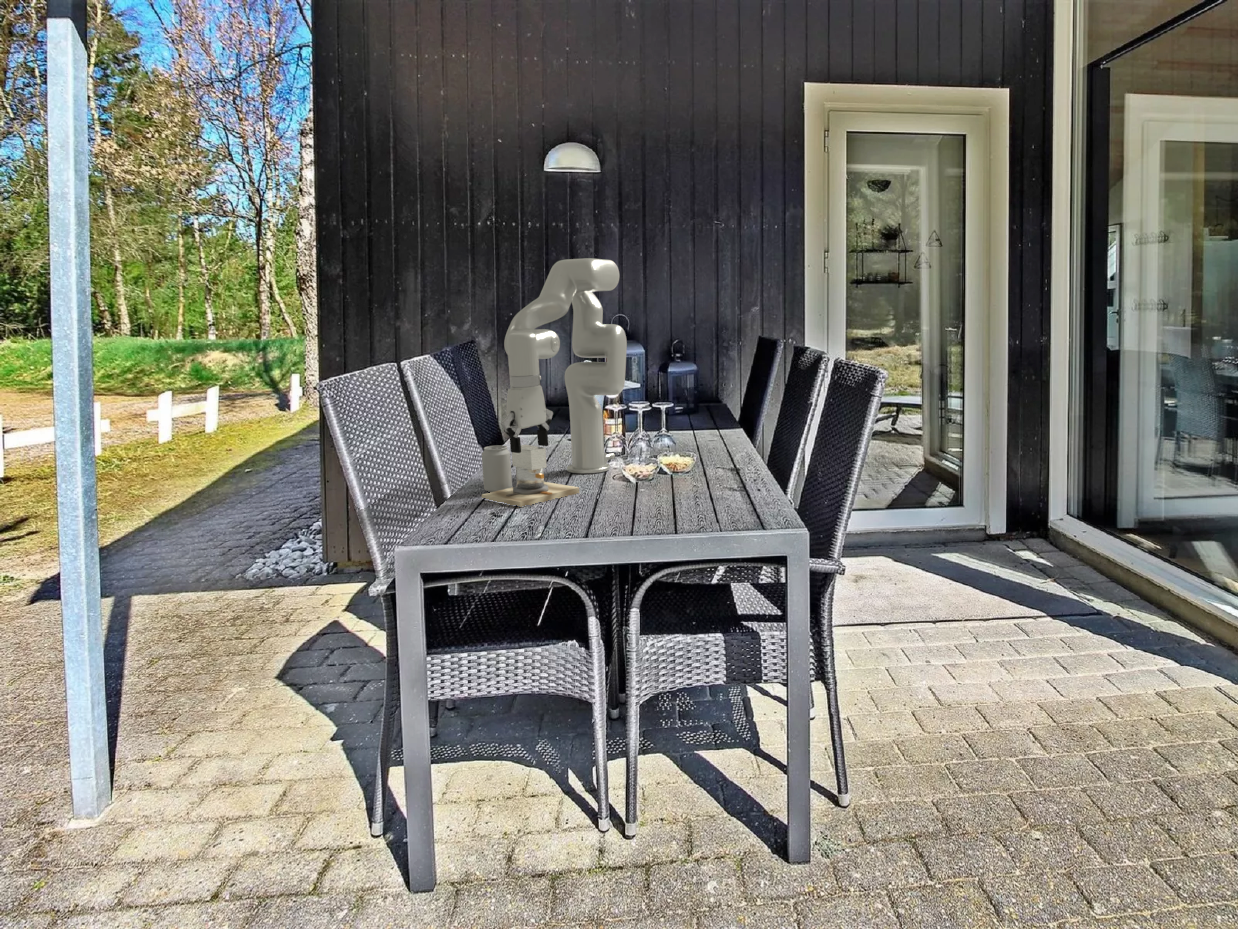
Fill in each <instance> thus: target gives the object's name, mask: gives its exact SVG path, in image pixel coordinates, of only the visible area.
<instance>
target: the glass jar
mask: <svg viewBox="0 0 1238 929" xmlns="http://www.w3.org/2000/svg"><path fill="white" fill-rule="evenodd" d="M546 450H547V448H546V447H542V446H541V447H540V446H536V445H531V444H530V445H529V444H521V453H514V452H511V462H512V463H511V464H512V467H515V476H516V477H515V478H516V486H517V488H521V489H533V488H540V487H543V486H544V482H545V474H544V469H546V468H547V451H546Z"/></svg>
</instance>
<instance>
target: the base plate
mask: <svg viewBox="0 0 1238 929" xmlns="http://www.w3.org/2000/svg"><path fill="white" fill-rule="evenodd" d="M577 493H578V494H580V487H578V486H573V485H566V484H562V483H561V484H560V483H555V482H547V481H544V486H543V487H540V488H533V489H521V488H517V485H516V486H512V488H508V489H503V490H499V491H495V492H490V493H488V492H486V493H482V494H481V499H482V498H486V499H489V500H493V501H497V502H504V503H507V504H510V505H517V506H520V507H522V506H525V505H530V506H533V505H532V504H534V505H536V504H535V503H538V502H542V503H545V501H546V502H549V501H548V500H550V501H553V500H552V499H554V500H556V499H555V498H558V499H561V497H562V498H565V496H566V497H569V496H568V495H570V496H573V495H577ZM538 504H539V503H538ZM522 508H523V507H522Z"/></svg>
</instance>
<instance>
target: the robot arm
mask: <svg viewBox="0 0 1238 929" xmlns="http://www.w3.org/2000/svg"><path fill="white" fill-rule="evenodd" d="M619 282H620V271H619V267H618V265H617V264H616V263H615V262H614V261H613V260H611V259H604V258H603V259H601V258H593V257H592V258H590V257H588V258H587V257H586V258H573V259H572V258H571V259H569V258H568V259H561V260H557V261H556V262H555V263H554V264H553V265H552V267H551V269H550V270H549V273H548V275H547V278H546V279H545V282H544V284H543V287H542V289H541V291H540V294H539V296H538V297H537V298H536V299H534V300H533V301H531V302H529V303H528V304H527V305H525V307H523V308H522V309H521V310H519V311H518V312H517V313H516V314H515V315H514V317H513V318H512V320H511V321H510V323H509V326H508V329H507V331H506V334H505V335H504V336H505V337H504V344H503V345H504V352H506V355H507V358H508V359H507V360H508V372H509V374H508V375H509V386H510V388H508V389H507V394H506V395H507V397H506V417H504V418H503V419H502V420H501V421H500V424H501V427H502V429H503V432H504V433H505V434H506V435H507V437H508V438H509V446H510V453H512V452H514V453H521V445H522V444H521V437H519V435H520V433H521V431H522V429H527V428H528V429H529V428H532V427H537V428H538V429H537V430H536V433H537V444H538V446H539V447H540V446H541V447H542V446H543V447H548V446H549V435H548V434H549V433H548V431H549V430H550V426H551V424H552V418H553V415H554V412H553V411H552V410H550V409H548V408H547V407H546V402H545V395H544V391H543V387H542V385H541V380H542V376H541V374H540V373H541V372H540V362H539V360H546V359H548V360H549V359H551V358H554V357H555V356H556V355H558V352H559V351H560V347H561V340H560V337H559V335H558V334H557V333H556V331H554V330H551V329H547V328H546V329H545V328H544V329H543V328H540V329H537V328H539V327H541V326H543V325H546V324H549V323H552V322H554V321H556V320H559V319H560V318H562V317H564V316H565V315H566V314H567V313H568V312H569V310H570V306H571V305H572V309H573V310H572V311H573V312H572V313H573V319H572V336H571V342H572V343H571V346H572V347H571V348H572V352H573V354H574V355H575V356H577V357H578V358H584V359H585V358H587V359H588V358H589V359H596V358H597V359H599V358H600V359H603V358H604V359H605V358H606V361H581V362H579V361H578V362H574V363H571V364H570V365H569V366H567V367H566V369H565V371H564V384H565V387H566V388H565V389H566V393H567V397H568V405H569V408H568V409H569V420H570V422H569V424H570V426H569V427H570V442H571V443H570V444H571V445H570V446H571V464H569V465H568V466H567V467H566V471H567V472H569V473H572V474H598V473H603V472H607V471H609V470H611V469H610V468H611V466H610V464H608V461H610V460H614V459H616V455H615V453H614V452H609V453H607V452H605V449H604V448H605V445H604V444H605V442H604V422H603V421H604V420H603V409H602V406H601V404H600V402H599V401H598V399H597V398H596V397H595V396H616V395H619V394H621V393H622V392H623V390H624V388H625V384H626V383H625V382H626V371H627V370H626V369H627V368H626V366H627V352H628V351H627V349H628V348H627V347H628V346H627V345H628V343H627V342H628V340H627V336H626V335H627V334H626V332H625V330H624V328H623V327H622V326H621V325H618V324H614V323H610V324H609V323H606V324H605V323H603V316H604V315H603V313H604V311H603V310H604V308H603V306H602V304H601V301H600V300H599V299H598V297H597V296H596V294H594V292H608V291H609V292H610V291H613V290H614V289H615V288H616V287H617V286H618V284H619Z"/></svg>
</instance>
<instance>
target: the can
mask: <svg viewBox="0 0 1238 929" xmlns="http://www.w3.org/2000/svg"><path fill="white" fill-rule="evenodd" d="M511 462H512V458H511V450H509V449H508V446H507V445H489V446H485V447H483V451H482V452H481V463H482V464H481V465H482V480H483V483H482V484H483V489H484V490H485V491H486V492H487V491H488V492H495V491H499V490H503V489H508V488H512V487H513V479H512V463H511ZM488 492H487V493H488Z"/></svg>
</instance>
